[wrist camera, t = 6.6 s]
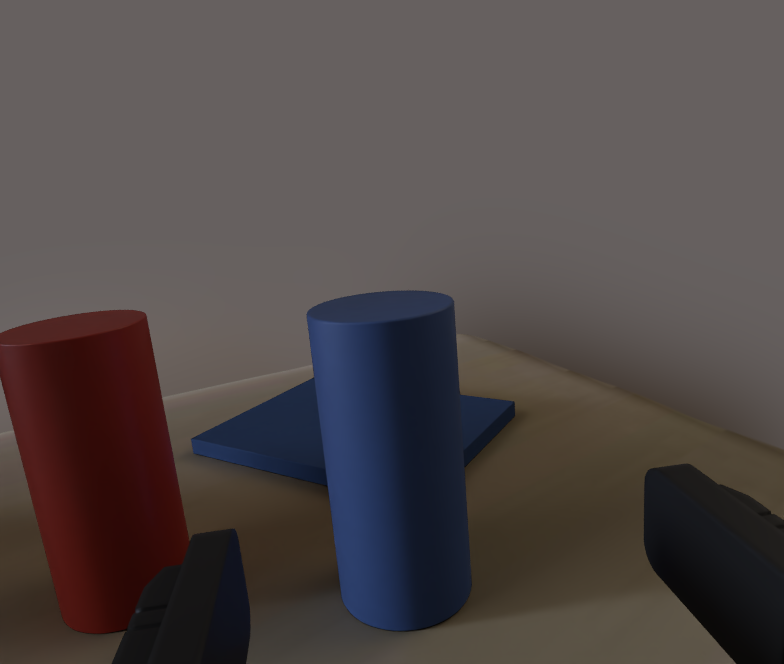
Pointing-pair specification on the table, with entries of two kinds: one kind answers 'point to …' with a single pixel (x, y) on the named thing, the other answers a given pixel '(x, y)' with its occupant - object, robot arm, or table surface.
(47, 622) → the table surface
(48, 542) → the red cylinder
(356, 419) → the blue cylinder
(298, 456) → the blue mat
